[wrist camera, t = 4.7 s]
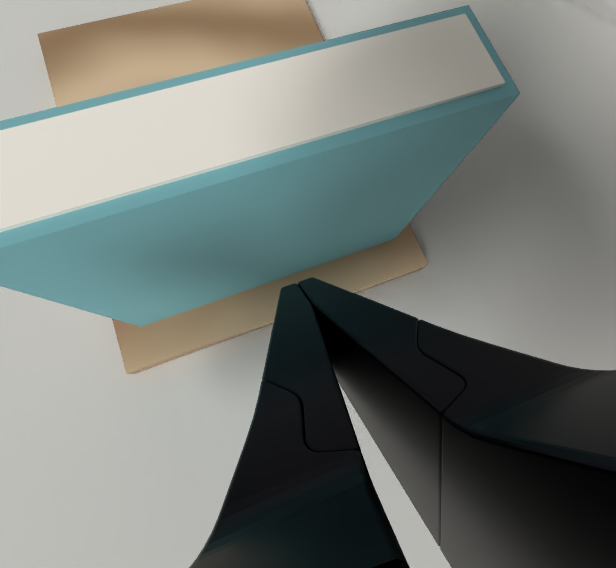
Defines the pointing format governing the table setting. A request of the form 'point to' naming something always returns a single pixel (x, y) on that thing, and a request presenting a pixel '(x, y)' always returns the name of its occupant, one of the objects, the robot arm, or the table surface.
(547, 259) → the table surface
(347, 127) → the notebook
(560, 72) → the table surface
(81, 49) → the cork mat
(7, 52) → the table surface
